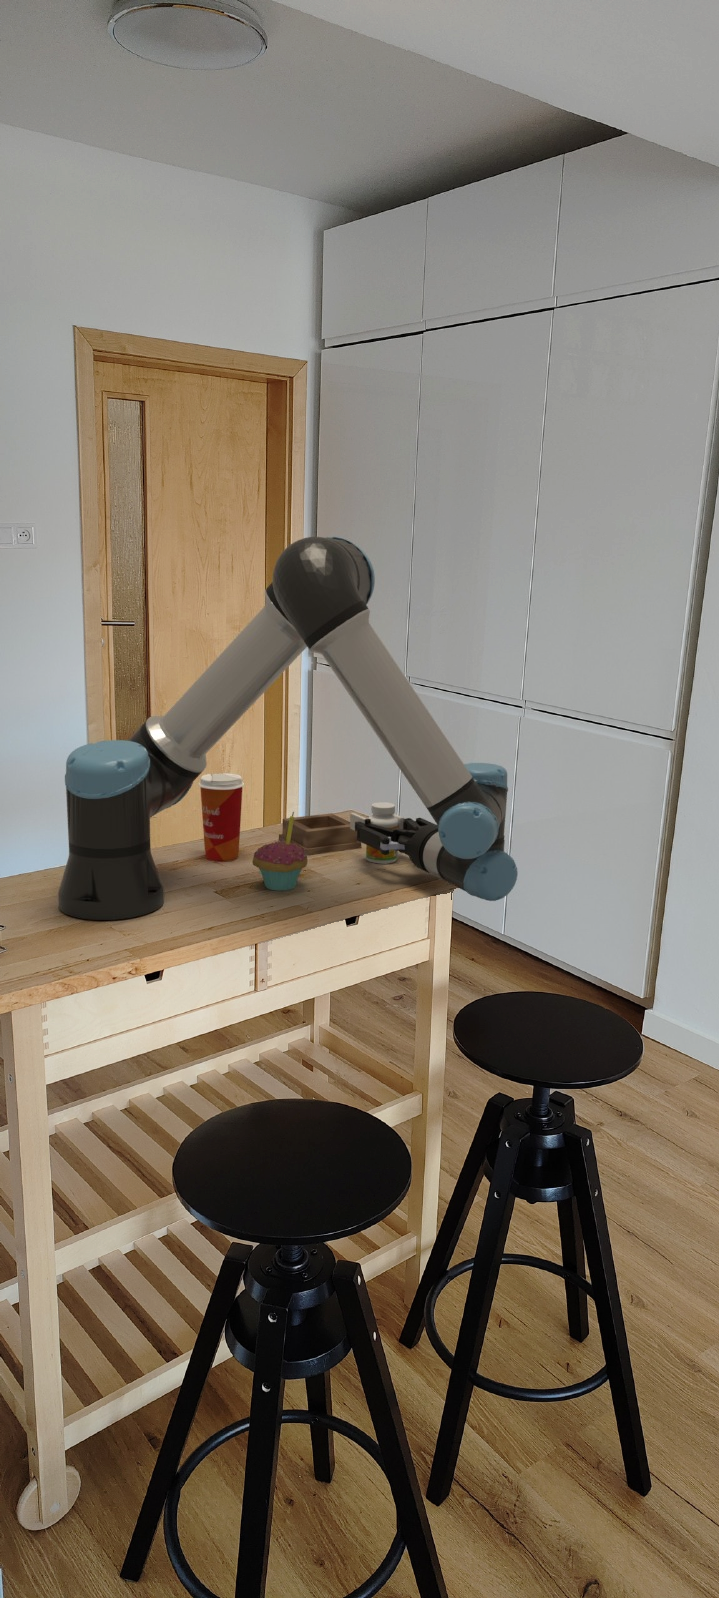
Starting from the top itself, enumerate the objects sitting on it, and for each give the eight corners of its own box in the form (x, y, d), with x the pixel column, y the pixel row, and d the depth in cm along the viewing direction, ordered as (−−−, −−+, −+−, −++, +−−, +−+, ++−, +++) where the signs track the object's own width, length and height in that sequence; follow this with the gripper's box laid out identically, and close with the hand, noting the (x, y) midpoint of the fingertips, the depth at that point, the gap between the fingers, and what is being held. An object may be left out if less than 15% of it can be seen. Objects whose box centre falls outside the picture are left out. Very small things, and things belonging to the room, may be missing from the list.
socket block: (305, 855, 186) (306, 832, 185) (278, 839, 196) (278, 818, 195) (361, 847, 192) (361, 826, 191) (332, 833, 201) (332, 812, 200)
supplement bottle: (360, 857, 186) (361, 802, 183) (387, 854, 188) (389, 800, 186) (375, 865, 181) (377, 809, 179) (403, 862, 184) (405, 806, 181)
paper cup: (193, 853, 186) (192, 773, 183) (236, 849, 189) (235, 770, 186) (207, 865, 179) (206, 783, 176) (251, 860, 182) (251, 780, 179)
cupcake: (298, 876, 174) (299, 804, 172) (314, 892, 166) (315, 817, 164) (246, 881, 171) (246, 807, 169) (260, 897, 164) (260, 820, 161)
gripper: (389, 883, 164) (320, 845, 184) (487, 868, 173) (411, 833, 193) (391, 835, 163) (320, 802, 182) (490, 823, 172) (412, 793, 191)
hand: (367, 818), depth 188 cm, fingers closed on supplement bottle, 5 cm apart
